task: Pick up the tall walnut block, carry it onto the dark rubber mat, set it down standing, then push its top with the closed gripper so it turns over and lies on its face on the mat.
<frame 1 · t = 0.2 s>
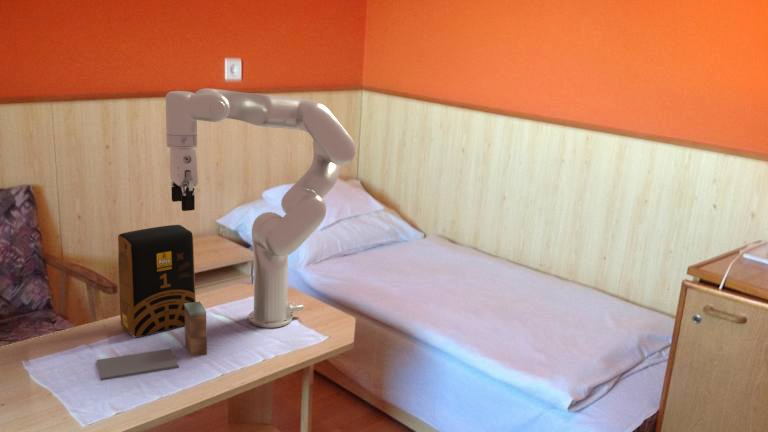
hand: (183, 205, 189), 36 cm above the table, tool pointing down, fingers open, 9 cm apart
black tall two-tone box: (159, 325, 203), on the table
mat: (137, 364, 180), on the table
block: (196, 350, 189), on the table
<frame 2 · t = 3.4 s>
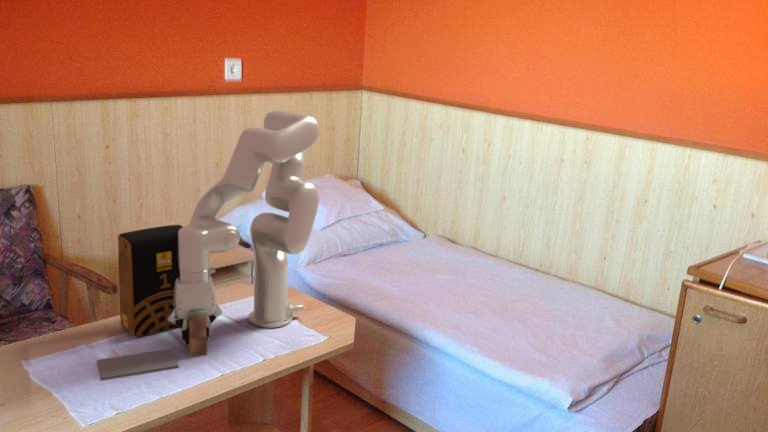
hand: (195, 340, 189), 3 cm above the table, tool pointing down, fingers closed on block, 4 cm apart
block: (195, 350, 189), on the table, touching gripper
everything else where it was.
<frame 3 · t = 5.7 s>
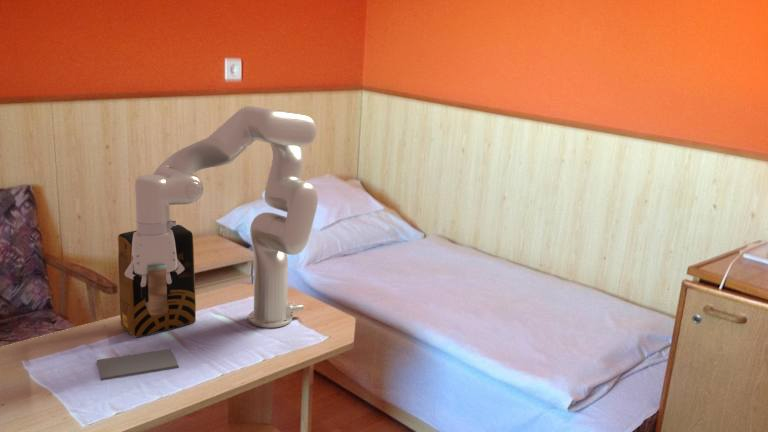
hand: (155, 298, 178), 17 cm above the table, tool pointing down, fingers closed on block, 4 cm apart
block: (156, 308, 178), point 14 cm above the table, touching gripper
everything else where it was.
when the fingers open (4 cm above the table, at t = 8.2 s): block stays where it is, resting on mat.
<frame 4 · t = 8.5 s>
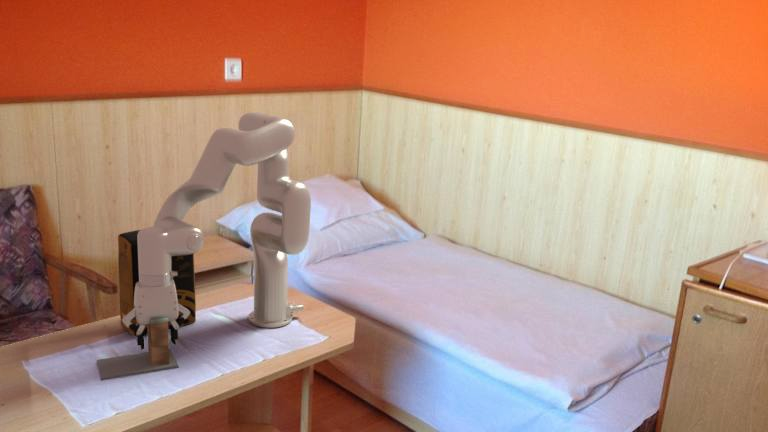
hand: (157, 344, 181), 5 cm above the table, tool pointing down, fingers open, 7 cm apart
block: (158, 359, 182), point 1 cm above the table, touching mat
everything else where it was.
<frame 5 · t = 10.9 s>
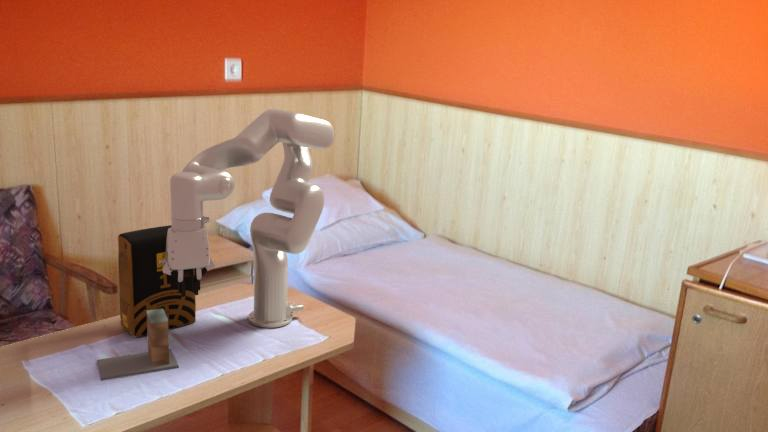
hand: (189, 293, 181), 17 cm above the table, tool pointing down, fingers closed
nothing on the table moved.
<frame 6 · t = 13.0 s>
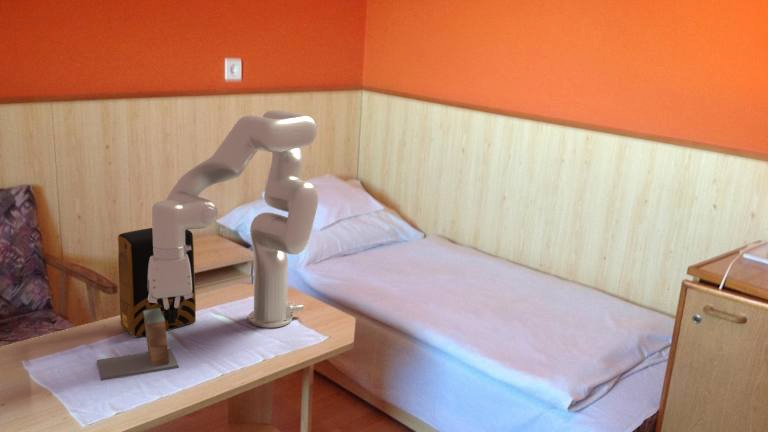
hand: (171, 321, 181), 10 cm above the table, tool pointing down, fingers closed
block: (158, 358, 182), point 1 cm above the table, touching gripper, mat
everything else where it was.
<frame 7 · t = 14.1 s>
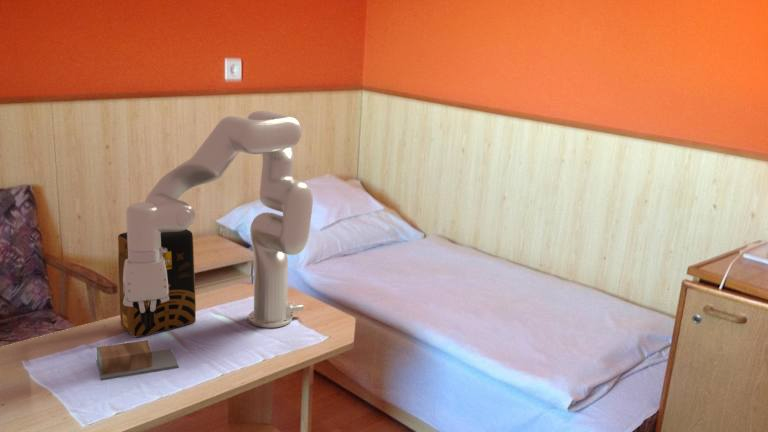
hand: (147, 325, 179), 10 cm above the table, tool pointing down, fingers closed
block: (149, 353, 181), point 3 cm above the table, tilted 90°, touching mat
everything else where it was.
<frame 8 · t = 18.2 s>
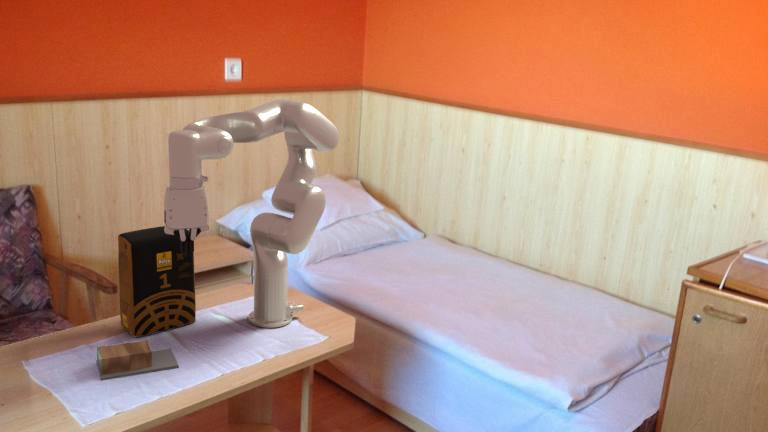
hand: (187, 254, 179), 27 cm above the table, tool pointing down, fingers closed
nothing on the table moved.
at the end: block tilted 90°; block inside the target area (4.0 cm from its centre), point 2.6 cm above the table; the gripper is holding nothing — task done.
